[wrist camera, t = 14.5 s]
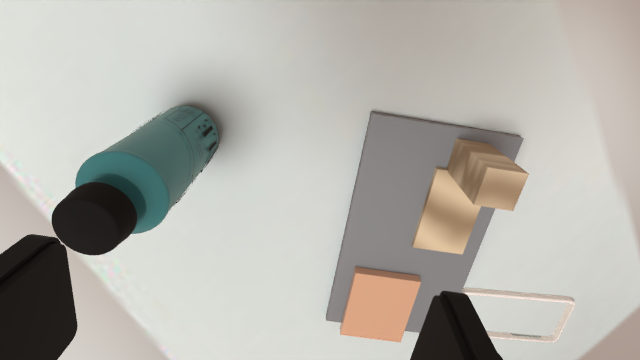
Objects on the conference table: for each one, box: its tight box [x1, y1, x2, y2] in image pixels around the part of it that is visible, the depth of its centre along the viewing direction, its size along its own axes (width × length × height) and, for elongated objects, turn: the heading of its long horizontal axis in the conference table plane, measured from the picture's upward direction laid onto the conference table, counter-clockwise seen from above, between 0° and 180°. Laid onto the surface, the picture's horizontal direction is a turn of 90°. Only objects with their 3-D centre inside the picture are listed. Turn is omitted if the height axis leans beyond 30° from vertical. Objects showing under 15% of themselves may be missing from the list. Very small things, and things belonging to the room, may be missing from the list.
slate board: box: [326, 112, 524, 333], centre depth 44 cm, size 28×16×1 cm, turn 171°
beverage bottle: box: [52, 105, 219, 255], centre depth 30 cm, size 6×7×20 cm
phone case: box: [461, 288, 575, 342], centre depth 49 cm, size 7×1×15 cm
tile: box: [340, 267, 421, 342], centre depth 46 cm, size 1×8×10 cm
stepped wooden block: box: [412, 138, 529, 255], centre depth 37 cm, size 13×6×8 cm, turn 171°
